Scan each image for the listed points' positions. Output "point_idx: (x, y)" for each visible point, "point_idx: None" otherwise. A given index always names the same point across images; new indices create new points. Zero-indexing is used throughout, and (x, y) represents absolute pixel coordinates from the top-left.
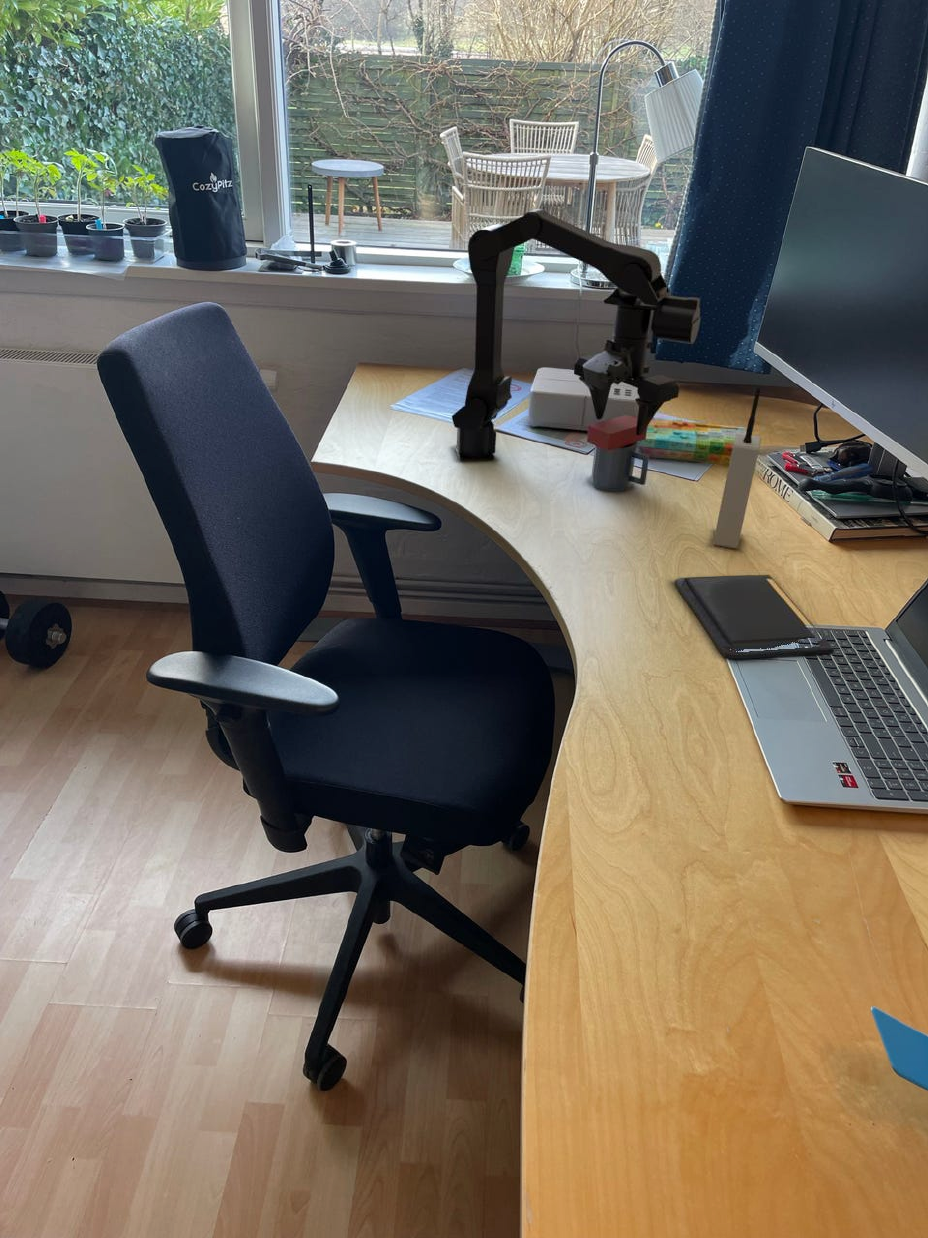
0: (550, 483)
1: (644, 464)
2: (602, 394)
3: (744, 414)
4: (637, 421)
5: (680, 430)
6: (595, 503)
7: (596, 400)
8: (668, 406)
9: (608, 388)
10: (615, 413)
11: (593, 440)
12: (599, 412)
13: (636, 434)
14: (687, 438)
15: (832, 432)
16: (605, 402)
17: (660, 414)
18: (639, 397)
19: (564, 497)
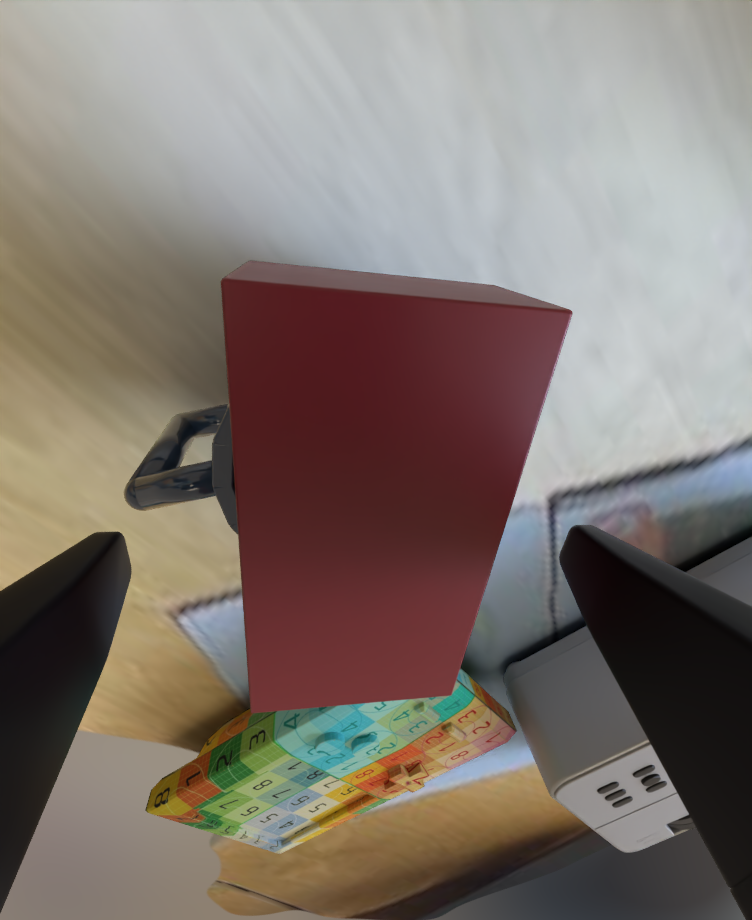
0: (530, 141)
1: (145, 460)
2: (747, 757)
3: (391, 852)
4: (7, 632)
5: (372, 756)
6: (216, 112)
7: (746, 641)
8: (528, 790)
9: (746, 872)
10: (591, 700)
11: (434, 281)
12: (606, 570)
13: (116, 532)
14: (314, 742)
15: (224, 904)
16: (636, 688)
17: (521, 764)
18: (567, 799)
19: (377, 26)
